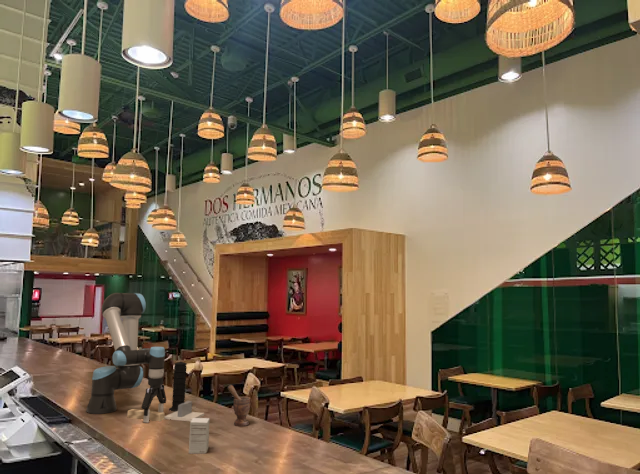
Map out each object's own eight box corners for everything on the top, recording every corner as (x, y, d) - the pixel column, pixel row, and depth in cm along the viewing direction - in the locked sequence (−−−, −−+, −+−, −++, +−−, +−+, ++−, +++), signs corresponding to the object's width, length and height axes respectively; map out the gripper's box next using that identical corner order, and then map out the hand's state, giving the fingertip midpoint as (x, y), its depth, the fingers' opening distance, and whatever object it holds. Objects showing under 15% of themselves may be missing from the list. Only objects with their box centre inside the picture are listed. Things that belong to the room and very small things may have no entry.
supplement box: (191, 448, 212) (192, 417, 213) (208, 448, 212) (210, 417, 214) (187, 453, 204) (189, 422, 206) (206, 453, 205) (207, 422, 206)
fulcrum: (164, 418, 259) (164, 404, 260) (177, 412, 272) (178, 399, 273) (192, 421, 255) (192, 407, 256) (204, 415, 269) (204, 401, 270)
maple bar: (127, 418, 259) (127, 410, 260) (132, 416, 263) (132, 408, 264) (159, 422, 253) (159, 414, 253) (164, 420, 257) (164, 412, 257)
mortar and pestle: (233, 428, 244) (234, 386, 246) (223, 425, 250) (225, 384, 252) (252, 425, 251) (254, 384, 254) (243, 421, 258) (245, 382, 260)
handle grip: (165, 410, 277) (182, 411, 275) (168, 362, 280) (184, 363, 278) (174, 406, 287) (190, 407, 285) (176, 360, 290) (192, 360, 288)
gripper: (149, 381, 247) (146, 425, 244) (174, 374, 271) (172, 414, 268) (135, 380, 248) (132, 424, 246) (162, 373, 272) (159, 413, 270)
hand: (153, 419), depth 257 cm, fingers open, 13 cm apart
